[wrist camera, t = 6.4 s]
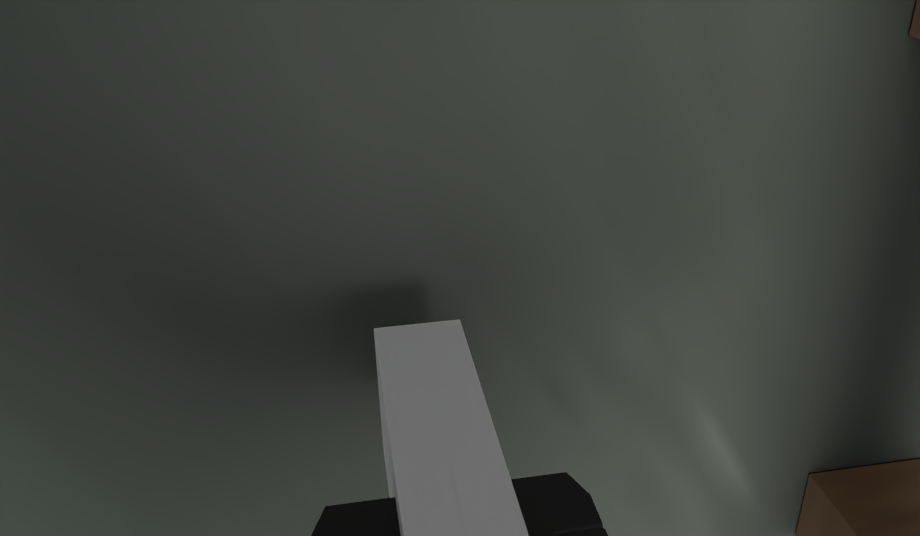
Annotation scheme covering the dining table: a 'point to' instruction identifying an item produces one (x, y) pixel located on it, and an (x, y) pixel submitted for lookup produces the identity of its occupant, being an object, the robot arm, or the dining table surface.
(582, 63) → the dining table surface
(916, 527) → the bridge
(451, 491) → the robot arm
